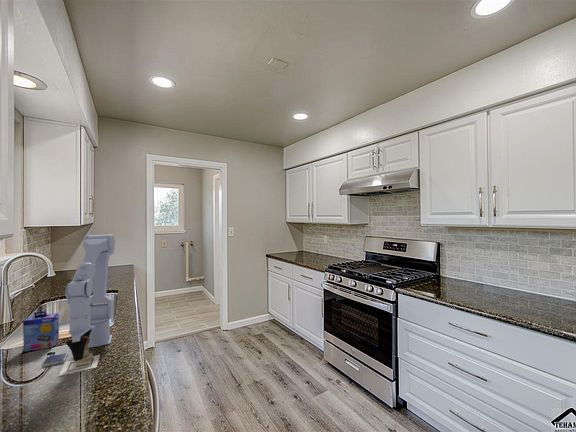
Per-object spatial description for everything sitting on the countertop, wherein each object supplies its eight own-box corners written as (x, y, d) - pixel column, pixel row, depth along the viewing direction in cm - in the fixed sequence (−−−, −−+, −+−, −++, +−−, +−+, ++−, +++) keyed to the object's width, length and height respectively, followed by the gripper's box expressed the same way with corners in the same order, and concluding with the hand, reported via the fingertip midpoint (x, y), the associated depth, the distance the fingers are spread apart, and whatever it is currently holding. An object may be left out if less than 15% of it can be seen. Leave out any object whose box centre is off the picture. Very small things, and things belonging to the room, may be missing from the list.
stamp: (78, 362, 98) (78, 335, 98) (92, 359, 99) (91, 333, 100) (75, 367, 94) (75, 339, 94) (89, 364, 96) (89, 337, 96)
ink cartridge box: (22, 352, 107) (21, 314, 107) (29, 346, 112) (28, 310, 112) (54, 347, 111) (54, 310, 111) (59, 341, 116) (59, 306, 116)
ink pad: (47, 359, 100) (47, 356, 100) (67, 355, 103) (67, 352, 103) (41, 367, 95) (41, 364, 95) (64, 362, 98) (64, 359, 98)
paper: (65, 362, 98) (65, 361, 98) (100, 355, 103) (99, 354, 103) (58, 376, 89) (58, 375, 89) (96, 367, 94) (96, 367, 94)
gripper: (90, 319, 92) (91, 361, 92) (96, 307, 104) (97, 344, 104) (63, 324, 88) (64, 367, 88) (73, 311, 101) (73, 348, 101)
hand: (80, 355), depth 96 cm, fingers open, 7 cm apart
